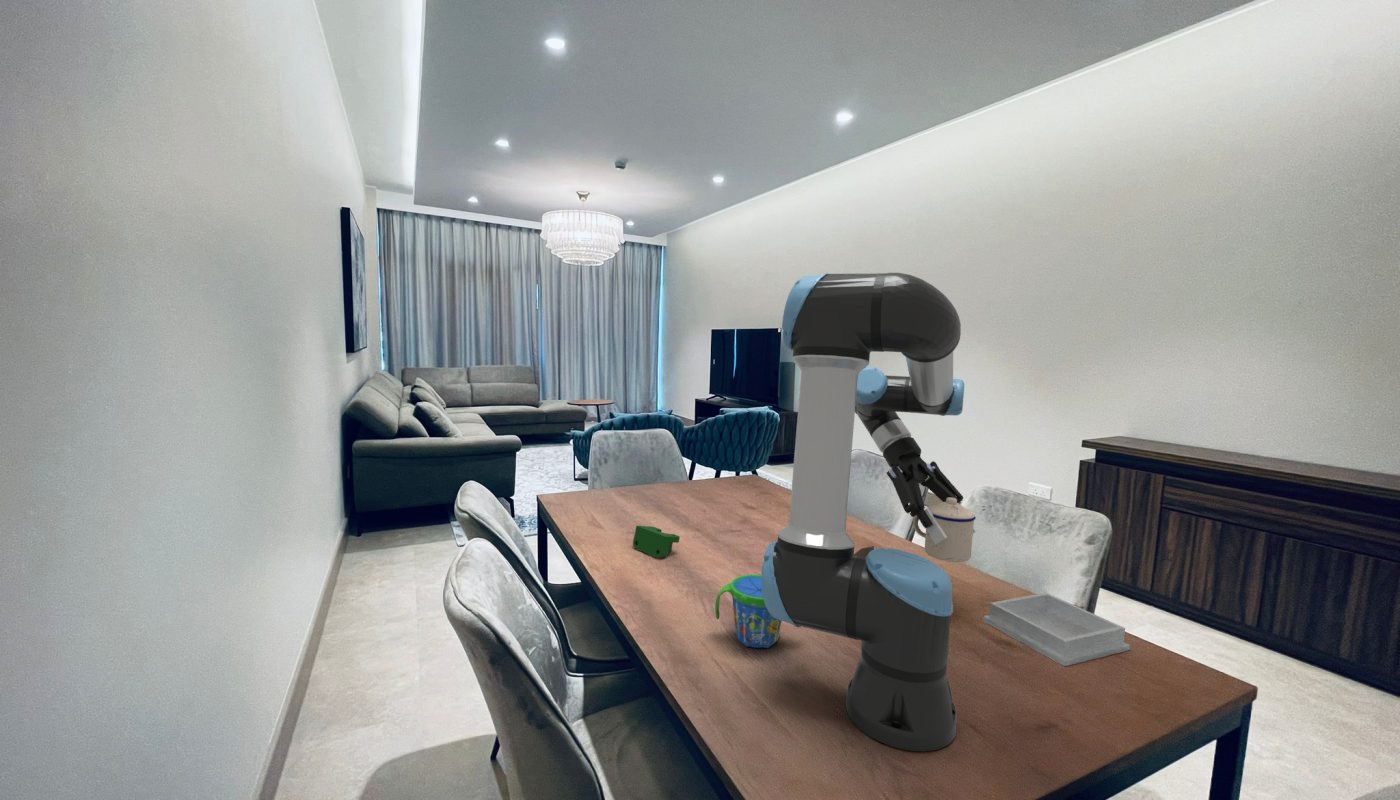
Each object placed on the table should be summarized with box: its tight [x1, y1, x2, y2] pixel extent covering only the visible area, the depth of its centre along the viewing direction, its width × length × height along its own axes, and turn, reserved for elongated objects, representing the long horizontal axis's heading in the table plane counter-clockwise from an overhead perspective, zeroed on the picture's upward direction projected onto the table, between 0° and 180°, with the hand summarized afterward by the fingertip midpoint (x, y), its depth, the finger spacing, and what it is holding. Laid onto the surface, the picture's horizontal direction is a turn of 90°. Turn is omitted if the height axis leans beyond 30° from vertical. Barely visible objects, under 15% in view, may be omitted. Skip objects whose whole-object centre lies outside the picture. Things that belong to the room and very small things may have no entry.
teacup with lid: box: [912, 497, 976, 563], centre depth 115 cm, size 12×9×12 cm
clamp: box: [632, 525, 681, 559], centre depth 146 cm, size 12×6×9 cm, turn 39°
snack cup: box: [714, 574, 782, 649], centre depth 103 cm, size 16×10×10 cm
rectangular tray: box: [982, 592, 1131, 667], centre depth 108 cm, size 17×17×4 cm
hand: (956, 537), depth 113 cm, fingers closed on teacup with lid, 9 cm apart
